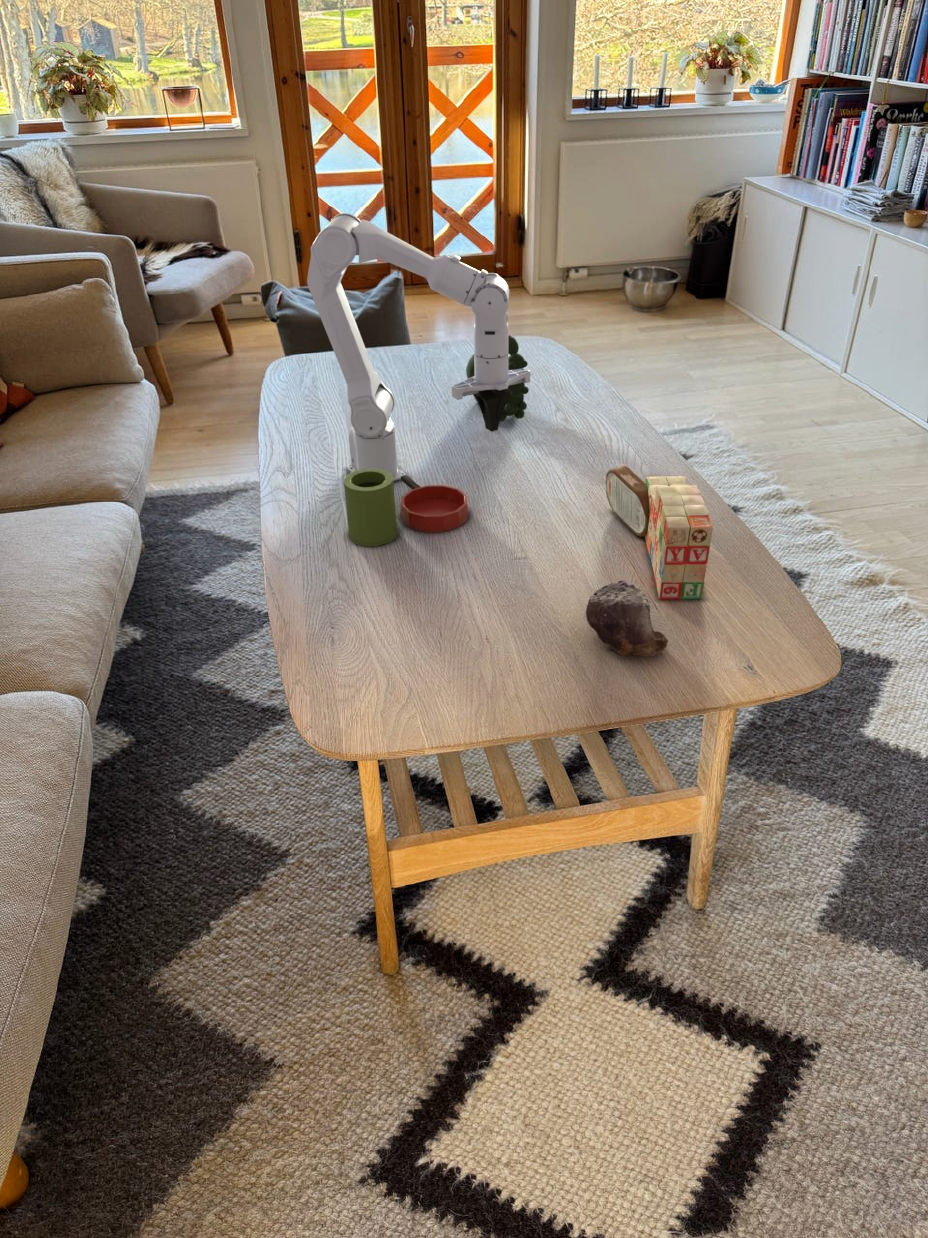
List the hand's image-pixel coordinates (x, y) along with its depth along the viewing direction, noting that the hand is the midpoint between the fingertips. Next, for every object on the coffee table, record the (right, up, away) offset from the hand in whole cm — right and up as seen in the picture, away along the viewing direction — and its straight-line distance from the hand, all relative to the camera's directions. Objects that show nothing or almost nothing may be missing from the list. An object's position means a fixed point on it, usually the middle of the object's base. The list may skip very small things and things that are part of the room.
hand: (491, 428), depth 165 cm
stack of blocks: (+27, -24, -19) cm, 41 cm away
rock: (+17, -37, -36) cm, 54 cm away
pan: (-11, -14, -4) cm, 19 cm away
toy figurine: (+2, +10, +31) cm, 33 cm away
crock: (-20, -19, -10) cm, 29 cm away
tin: (+22, -18, -9) cm, 30 cm away
